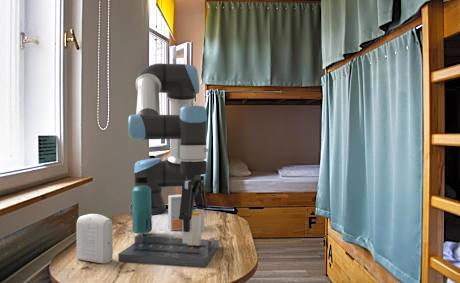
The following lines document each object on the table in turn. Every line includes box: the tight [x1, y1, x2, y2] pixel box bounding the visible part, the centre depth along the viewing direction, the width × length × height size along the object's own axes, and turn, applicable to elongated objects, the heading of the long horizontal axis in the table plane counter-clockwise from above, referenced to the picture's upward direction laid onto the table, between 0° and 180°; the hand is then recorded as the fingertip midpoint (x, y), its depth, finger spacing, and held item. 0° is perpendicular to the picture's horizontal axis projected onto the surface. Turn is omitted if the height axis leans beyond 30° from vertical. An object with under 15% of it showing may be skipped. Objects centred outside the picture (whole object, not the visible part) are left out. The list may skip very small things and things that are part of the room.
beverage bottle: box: [131, 176, 153, 235], centre depth 114 cm, size 6×7×20 cm
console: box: [117, 234, 220, 268], centre depth 96 cm, size 16×24×4 cm, turn 79°
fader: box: [187, 211, 202, 246], centre depth 97 cm, size 2×4×9 cm, turn 79°
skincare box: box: [167, 193, 182, 232], centre depth 122 cm, size 6×4×12 cm
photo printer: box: [75, 213, 114, 264], centre depth 92 cm, size 10×4×12 cm, turn 69°
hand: (194, 236), depth 97 cm, fingers open, 11 cm apart
